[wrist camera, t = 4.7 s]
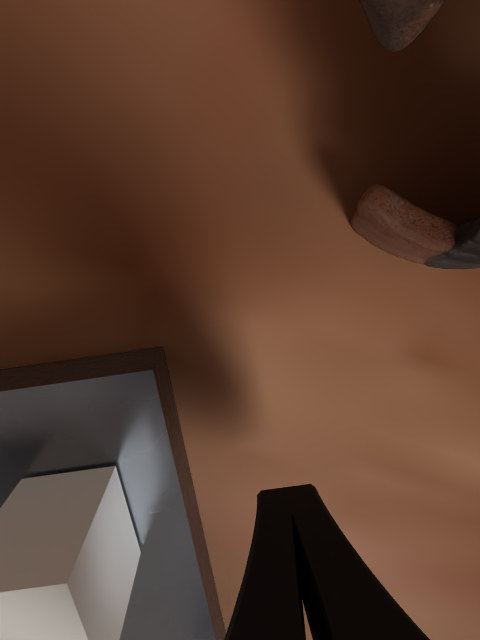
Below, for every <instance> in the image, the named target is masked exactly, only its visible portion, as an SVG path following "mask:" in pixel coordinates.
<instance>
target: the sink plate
mask: <svg viewBox="0 0 480 640" xmlns="http://www.w3.org/2000/svg"><path fill="white" fill-rule="evenodd" d="M111 466H116V469H117V472H118V476H119V479H120V483H121V486H122V490H123V493H124V496H125V500H126V503H127V507H128V510H129V514H130V517H131V521H132V524H133V527H134V531H135V534H136V538H137V541H138V545H139V548H140V551H141V554H140V558H139V562H138V566H137V570H136V574H135V578H134V582H133V587H132V591H131V595H130V599H129V603H128V607H127V611H126V615H125V619H124V623H123V628H122V632H121V636H120V640H224V639H225V636H226V633H225V628H224V624H223V619H222V614H221V610H220V605H219V601H218V596H217V592H216V587H215V582H214V578H213V573H212V569H211V564H210V560H209V555H208V551H207V546H206V541H205V537H204V532H203V528H202V523H201V519H200V514H199V509H198V505H197V500H196V496H195V491H194V487H193V482H192V477H191V473H190V468H189V464H188V459H187V455H186V450H185V446H184V441H183V436H182V432H181V427H180V423H179V418H178V414H177V409H176V404H175V400H174V395H173V391H172V386H171V382H170V377H169V372H168V368H167V363H166V359H165V354H164V350H163V347H158V348H151V349H144V350H137V351H130V352H124V353H117V354H110V355H103V356H96V357H89V358H82V359H75V360H68V361H61V362H54V363H47V364H40V365H33V366H26V367H19V368H12V369H5V370H0V508H1V507H2V505H3V504H4V502H5V501H6V500H7V498H8V497H9V496H10V494H11V493H12V491H13V490H14V489H15V487H16V486H17V485H18V483H19V482H20V481H21V479H25V478H32V477H39V476H46V475H53V474H61V473H68V472H75V471H82V470H89V469H97V468H104V467H111Z"/></svg>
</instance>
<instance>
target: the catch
mask: <svg viewBox="0 0 480 640" xmlns="http://www.w3.org/2000/svg"><path fill="white" fill-rule="evenodd" d="M140 554H141V551H140V548H139V545H138V541H137V538H136V534H135V531H134V527H133V524H132V521H131V517H130V514H129V510H128V507H127V503H126V500H125V496H124V493H123V490H122V486H121V483H120V479H119V476H118V472H117V469H116V466H111V467H104V468H97V469H89V470H82V471H75V472H68V473H61V474H53V475H46V476H39V477H32V478H25V479H21V481H20V482H19V483H18V485H17V486H16V487H15V489H14V490H13V491H12V493H11V494H10V496H9V497H8V498H7V500H6V501H5V502H4V504H3V505H2V507H1V508H0V640H120V636H121V632H122V628H123V623H124V619H125V615H126V611H127V607H128V603H129V599H130V595H131V591H132V587H133V582H134V578H135V574H136V570H137V566H138V562H139V558H140Z"/></svg>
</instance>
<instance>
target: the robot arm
mask: <svg viewBox="0 0 480 640" xmlns="http://www.w3.org/2000/svg"><path fill="white" fill-rule="evenodd" d="M302 600H303V603H302ZM303 604H304V608H305V611H306V615H307V619H308V623H309V627H310V631H311V634H312V638H313V640H430V639H429V638H428V637H427V636H426V635H425V634H424V633H423V632H422V630H421V629H420V628H419V627H418V626H417V625H416V624H415V623H414V622H413V621H412V619H411V618H410V617H409V616H408V615H407V614H406V613H405V611H404V610H403V609H402V608H401V607H400V606H399V605H398V603H397V602H396V601H395V600H394V599H393V597H392V596H391V595H390V594H389V593H388V591H387V590H386V589H385V588H384V587H383V585H382V584H381V583H380V582H379V580H378V579H377V578H376V577H375V575H374V574H373V573H372V572H371V570H370V569H369V568H368V567H367V565H366V564H365V563H364V561H363V560H362V559H361V557H360V556H359V554H358V553H357V552H356V550H355V549H354V548H353V546H352V545H351V544H350V542H349V541H348V540H347V538H346V537H345V535H344V534H343V532H342V531H341V530H340V528H339V527H338V525H337V524H336V522H335V520H334V519H333V517H332V516H331V514H330V513H329V511H328V510H327V508H326V506H325V505H324V503H323V501H322V499H321V498H320V496H319V494H318V492H317V490H316V488H315V487H314V486H313V485H311V484H306V485H299V486H291V487H284V488H277V489H269V490H262V491H260V493H259V494H258V495H257V513H256V521H255V527H254V533H253V538H252V543H251V548H250V552H249V556H248V561H247V565H246V569H245V573H244V577H243V581H242V584H241V588H240V591H239V594H238V598H237V601H236V604H235V608H234V611H233V615H232V618H231V621H230V624H229V627H228V630H227V633H226V636H225V639H224V640H306V634H305V624H304V614H303Z"/></svg>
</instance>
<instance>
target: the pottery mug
mask: <svg viewBox="0 0 480 640" xmlns="http://www.w3.org/2000/svg"><path fill="white" fill-rule="evenodd" d="M444 1H445V0H360V2H361V5H362V8H363V10H364V13H365V15H366V17H367V19H368V21H369V24H370V27H371V29H372V32H373V34H374V36H375V38H376V39H377V41H378V42H379V43H380V44H381V45H382V46H383V47H385V48H386V49H387V50H388V51H391V52H397V51H400V50H402V49H404V48H405V47H406V46H407V45H409V44H410V43H411V42H412V41H413V40H414V39H415V38H416V37H417V36H418V35H419V34H420V32H421V31H422V30H423V29H424V28H425V27H426V26H427V24H428V23H429V21H430V20H431V19H432V18H433V17H434V15H435V14H436V13H437V12H438V10H439V9H440V7H441V6H442V4H443V2H444ZM350 223H351V226H352V228H353V229H354V231H355V232H356V233H358V234H359V235H361V236H362V237H363V238H365V239H366V240H367V241H368V242H370V243H371V244H373V245H374V246H377V247H378V248H380V249H382V250H384V251H386V252H388V253H390V254H392V255H394V256H397V257H400V258H403V259H406V260H409V261H412V262H415V263H421V264H425V265H427V266H429V267H435V268H442V269H472V268H479V267H480V218H479V219H478V220H473V221H471V222H468V223H465V224H462V225H457V224H454V223H452V222H449V221H447V220H445V219H443V218H441V217H438V216H435V215H432V214H431V213H429V212H427V211H425V210H424V209H422V208H419V207H417V206H415V205H414V204H412V203H411V202H409V201H408V200H406V199H404V198H402V197H401V196H399V195H398V194H396V193H395V192H393V191H391V190H390V189H388V188H387V187H386V186H384V185H381V184H375V185H372V186H370V187H369V188H368V189H367V190H366V191H365V192H364V193H363V195H362V196H361V198H360V200H359V201H358V203H357V211H356V212H355V213H354V214H353V217H352V218H351V221H350Z"/></svg>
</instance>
